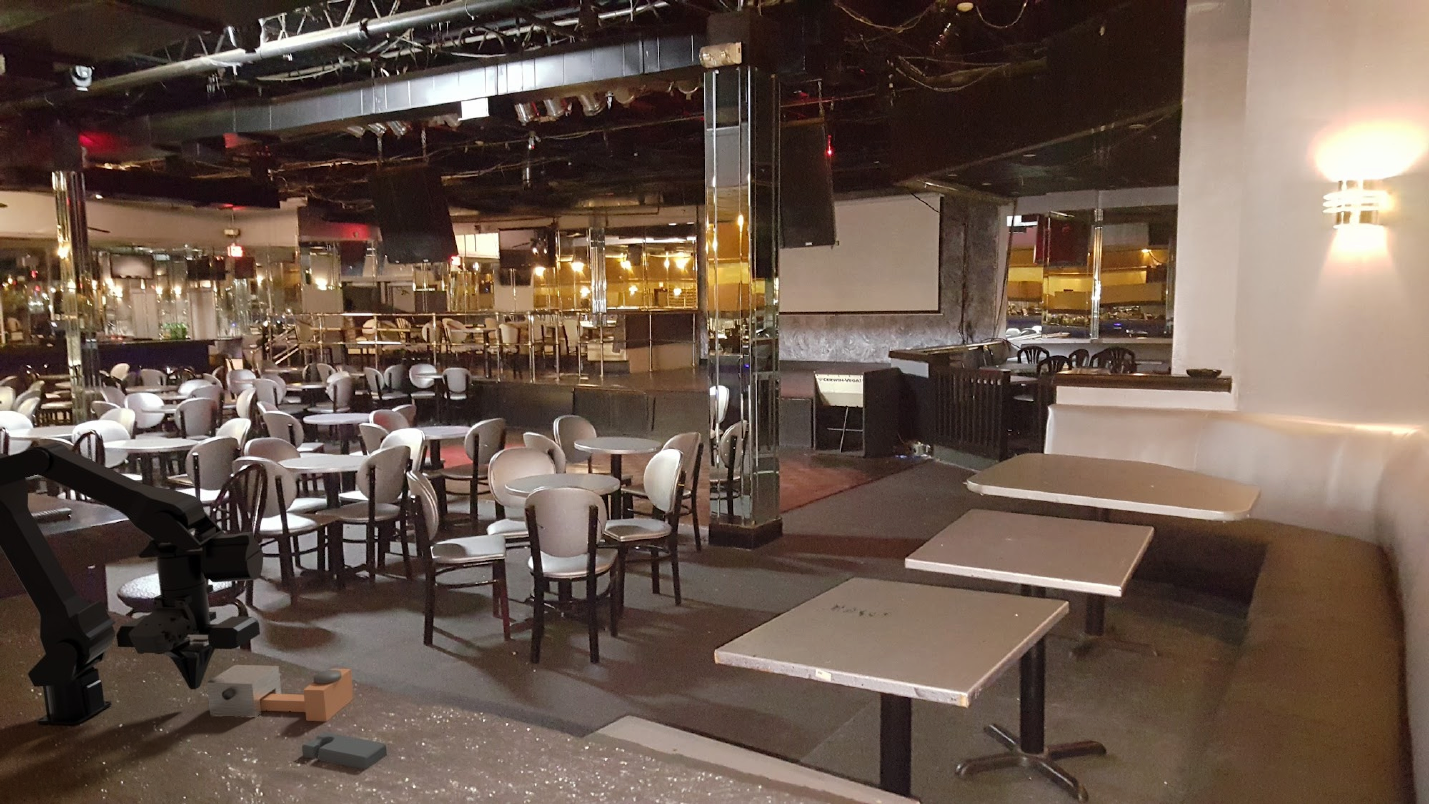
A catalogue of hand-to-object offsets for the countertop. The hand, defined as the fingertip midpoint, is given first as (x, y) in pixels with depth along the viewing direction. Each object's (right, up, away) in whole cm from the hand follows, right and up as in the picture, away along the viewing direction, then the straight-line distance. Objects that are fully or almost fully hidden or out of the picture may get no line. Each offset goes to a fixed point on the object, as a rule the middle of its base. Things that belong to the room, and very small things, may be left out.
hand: (195, 688), depth 131 cm
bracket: (+28, -4, -16) cm, 33 cm away
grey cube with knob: (+8, -3, -1) cm, 8 cm away
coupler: (+16, -2, -2) cm, 16 cm away
